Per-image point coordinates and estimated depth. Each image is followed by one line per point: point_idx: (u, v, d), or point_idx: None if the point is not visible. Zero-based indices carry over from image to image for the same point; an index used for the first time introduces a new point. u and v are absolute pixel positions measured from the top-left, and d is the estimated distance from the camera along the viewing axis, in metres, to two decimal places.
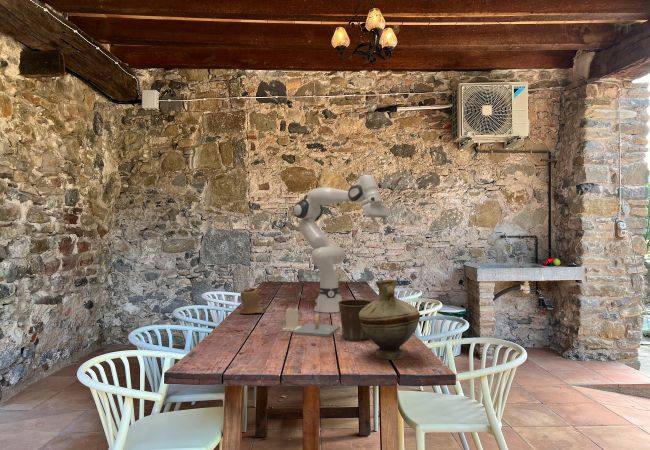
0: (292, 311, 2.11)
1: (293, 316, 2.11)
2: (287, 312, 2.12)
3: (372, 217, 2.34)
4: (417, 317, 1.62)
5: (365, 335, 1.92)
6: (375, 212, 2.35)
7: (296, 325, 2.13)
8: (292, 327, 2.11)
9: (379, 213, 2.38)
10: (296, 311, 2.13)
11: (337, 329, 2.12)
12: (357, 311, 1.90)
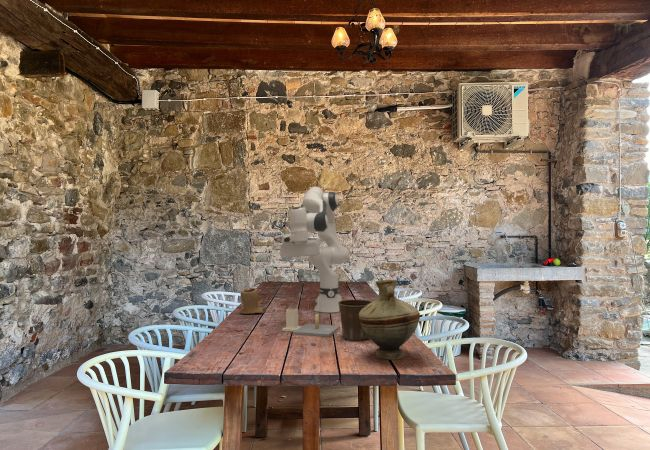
0: (292, 311, 2.11)
1: (293, 316, 2.11)
2: (287, 312, 2.12)
3: None
4: (417, 317, 1.62)
5: (365, 335, 1.92)
6: (290, 253, 2.14)
7: (296, 325, 2.13)
8: (292, 327, 2.11)
9: (298, 254, 2.14)
10: (296, 311, 2.13)
11: (337, 329, 2.12)
12: (357, 311, 1.90)
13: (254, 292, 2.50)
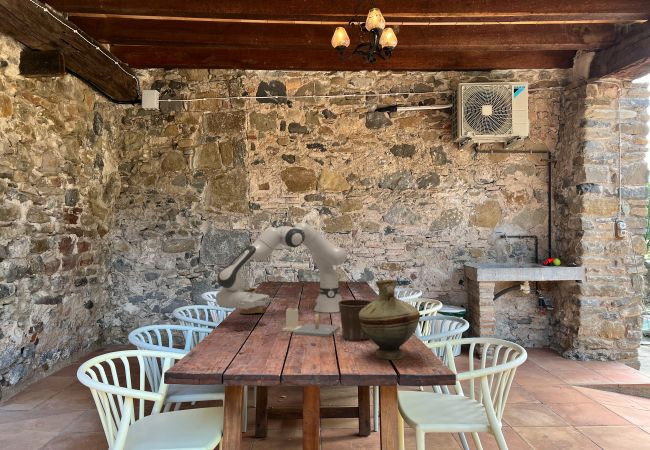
0: (292, 311, 2.11)
1: (293, 316, 2.11)
2: (287, 312, 2.12)
3: None
4: (417, 317, 1.62)
5: (365, 335, 1.92)
6: None
7: (296, 325, 2.13)
8: (292, 327, 2.11)
9: None
10: (296, 311, 2.13)
11: (337, 329, 2.12)
12: (357, 311, 1.90)
13: None
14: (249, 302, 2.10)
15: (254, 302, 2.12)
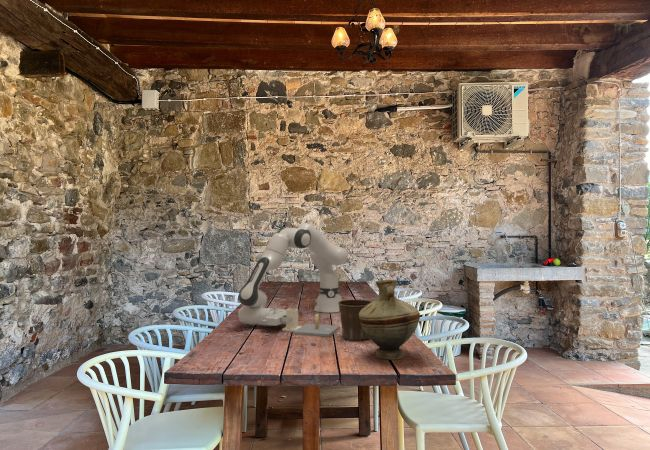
0: (292, 311, 2.11)
1: (293, 316, 2.11)
2: (287, 312, 2.12)
3: None
4: (417, 317, 1.62)
5: (365, 335, 1.92)
6: None
7: (296, 325, 2.13)
8: (292, 327, 2.11)
9: None
10: (296, 311, 2.13)
11: (337, 329, 2.12)
12: (357, 311, 1.90)
13: None
14: (274, 319, 2.06)
15: (279, 319, 2.08)
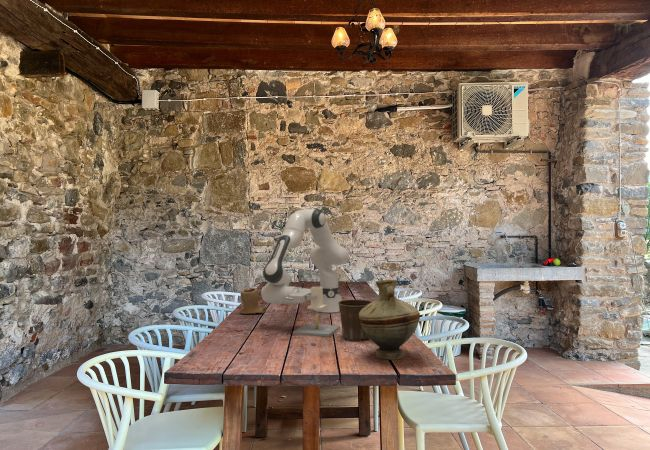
0: (317, 289, 2.08)
1: (318, 294, 2.07)
2: (312, 290, 2.08)
3: None
4: (417, 317, 1.62)
5: (365, 335, 1.92)
6: None
7: (321, 303, 2.09)
8: (317, 305, 2.08)
9: None
10: (321, 289, 2.09)
11: (337, 329, 2.12)
12: (357, 311, 1.90)
13: (254, 292, 2.50)
14: (299, 297, 2.02)
15: (304, 297, 2.04)
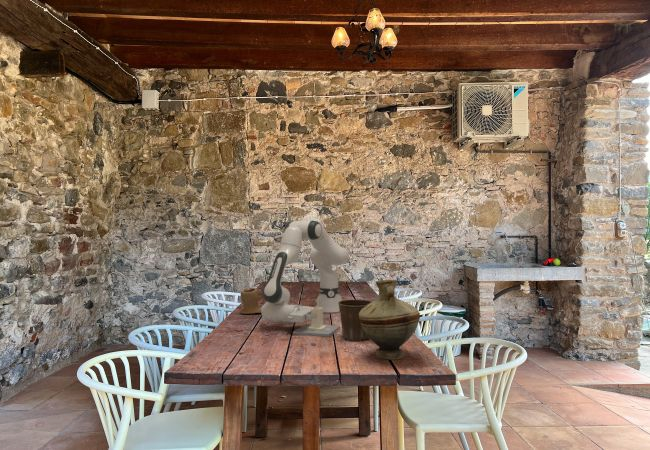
0: (317, 310, 2.07)
1: (318, 315, 2.07)
2: (312, 311, 2.08)
3: None
4: (417, 317, 1.62)
5: (365, 335, 1.92)
6: None
7: (321, 324, 2.09)
8: (317, 326, 2.07)
9: None
10: (321, 310, 2.09)
11: (337, 329, 2.12)
12: (357, 311, 1.90)
13: (254, 292, 2.50)
14: (299, 316, 2.02)
15: (304, 316, 2.04)
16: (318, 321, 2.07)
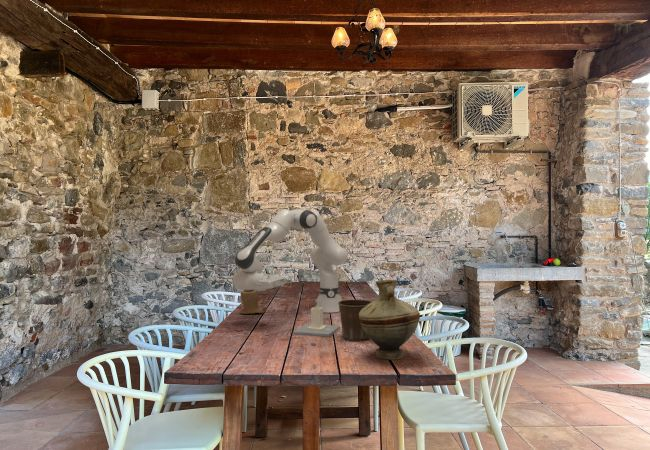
0: (317, 310, 2.07)
1: (318, 315, 2.07)
2: (312, 311, 2.08)
3: None
4: (417, 317, 1.62)
5: (365, 335, 1.92)
6: None
7: (321, 324, 2.09)
8: (317, 326, 2.07)
9: None
10: (321, 310, 2.09)
11: (337, 329, 2.12)
12: (357, 311, 1.90)
13: (254, 292, 2.50)
14: (267, 283, 2.08)
15: (272, 283, 2.09)
16: (318, 321, 2.07)
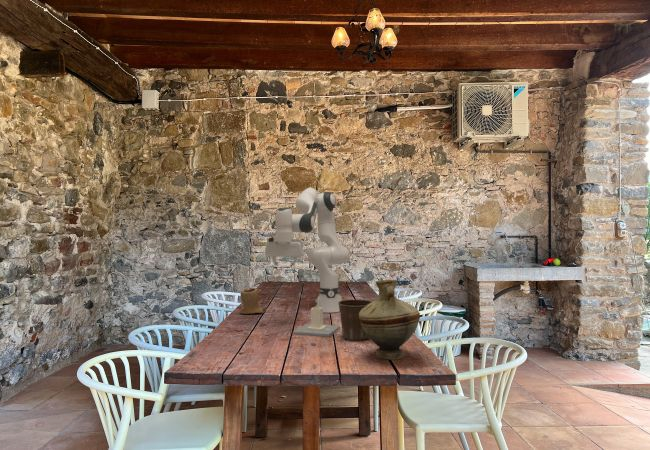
0: (317, 310, 2.07)
1: (318, 315, 2.07)
2: (312, 311, 2.08)
3: None
4: (417, 317, 1.62)
5: (365, 335, 1.92)
6: (274, 253, 2.21)
7: (321, 324, 2.09)
8: (317, 326, 2.07)
9: (281, 254, 2.20)
10: (321, 310, 2.09)
11: (337, 329, 2.12)
12: (357, 311, 1.90)
13: (254, 292, 2.50)
14: (303, 253, 2.19)
15: None
16: (318, 321, 2.07)
